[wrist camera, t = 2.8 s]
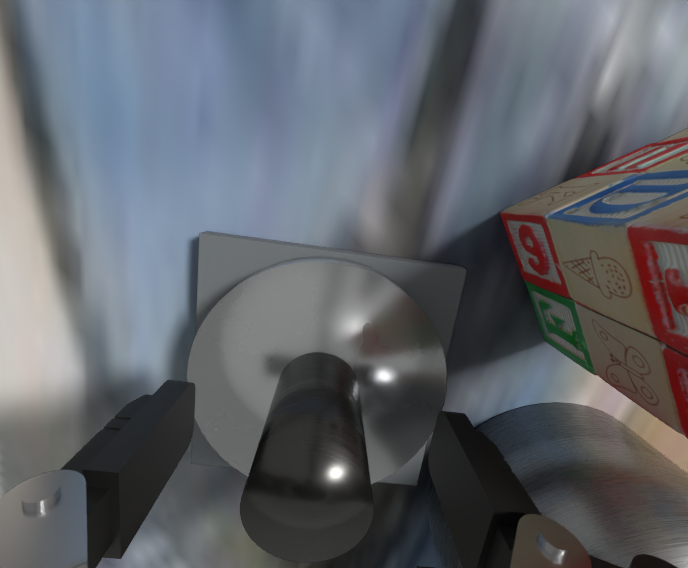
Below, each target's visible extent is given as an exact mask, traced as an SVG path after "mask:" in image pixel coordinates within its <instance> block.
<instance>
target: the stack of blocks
mask: <svg viewBox="0 0 688 568" xmlns="http://www.w3.org/2000/svg"><path fill="white" fill-rule="evenodd" d="M500 214H501V218H502V220H503V223H504V226H505V229H506V232H507V235H508V238H509V241H510V244H511V246H512V249H513V252H514V255H515V258H516V261H517V263H518V266H519V269H520V272H521V275H522V278H523V279H524V280H525V283H526V285H527V288H528V291H529V294H530V297H531V300H532V303H533V306H534V309H535V312H536V315H537V318H538V321H539V324H540V327H541V329H542V332H543V336H544V339H545V341H546V342H548V343H549V344H550V345H552V346H553V347H554V348H556V349H557V350H559V351H560V352H561V353H563V354H564V355H566V356H567V357H569V358H570V359H571V360H573V361H574V362H576V363H577V364H579V365H580V366H582V367H583V368H584V369H586V370H587V371H589V372H591V373H592V374H594V375H598V376H599V377H600V378H602V379H603V380H604V381H605V382H607V383H608V384H610V385H611V386H612V387H614V388H615V389H617V390H618V391H619V392H621V393H622V394H624V395H625V396H626V397H628V398H629V399H631V400H632V401H633V402H635V403H636V404H638V405H639V406H641V407H642V408H643V409H645V410H646V411H648V412H649V413H651V414H652V415H653V416H655V417H656V418H658V419H659V420H661V421H662V422H664V423H665V424H667V425H668V426H670V427H671V428H672V429H674V430H675V431H677V432H679V433H681V434H683V435H685V436H686V437H687V439H688V128H687V129H685V130H683V131H681V132H679V133H676V134H674V135H672V136H670V137H668V138H666V139H664V140H662V141H659V142H658V143H652V144H649V145H646V146H644V147H642V148H640V149H637V150H635V151H633V152H631V153H628V154H626V155H624V156H622V157H620V158H618V159H616V160H613V161H611V162H609V163H607V164H604V165H602V166H600V167H598V168H596V169H594V170H591V171H589V172H587V173H585V174H583V175H581V176H578V177H576V178H574V179H571V180H568V181H566V182H564V183H561V184H559V185H557V186H555V187H553V188H550V189H548V190H546V191H544V192H542V193H539V194H537V195H535V196H533V197H531V198H528V199H526V200H524V201H522V202H520V203H518V204H515V205H513V206H511V207H509V208H507V209H504V210H503V211H502V212H501V213H500Z"/></svg>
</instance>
